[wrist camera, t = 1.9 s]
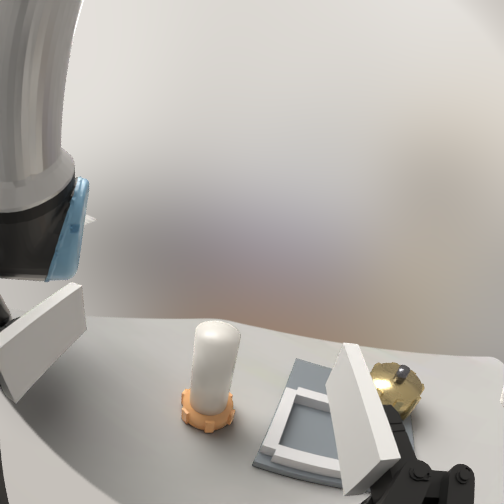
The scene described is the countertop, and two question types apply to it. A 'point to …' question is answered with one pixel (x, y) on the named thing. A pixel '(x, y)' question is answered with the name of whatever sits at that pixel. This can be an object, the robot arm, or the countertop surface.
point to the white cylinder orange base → (211, 377)
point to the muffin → (502, 397)
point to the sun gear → (397, 387)
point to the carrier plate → (305, 430)
